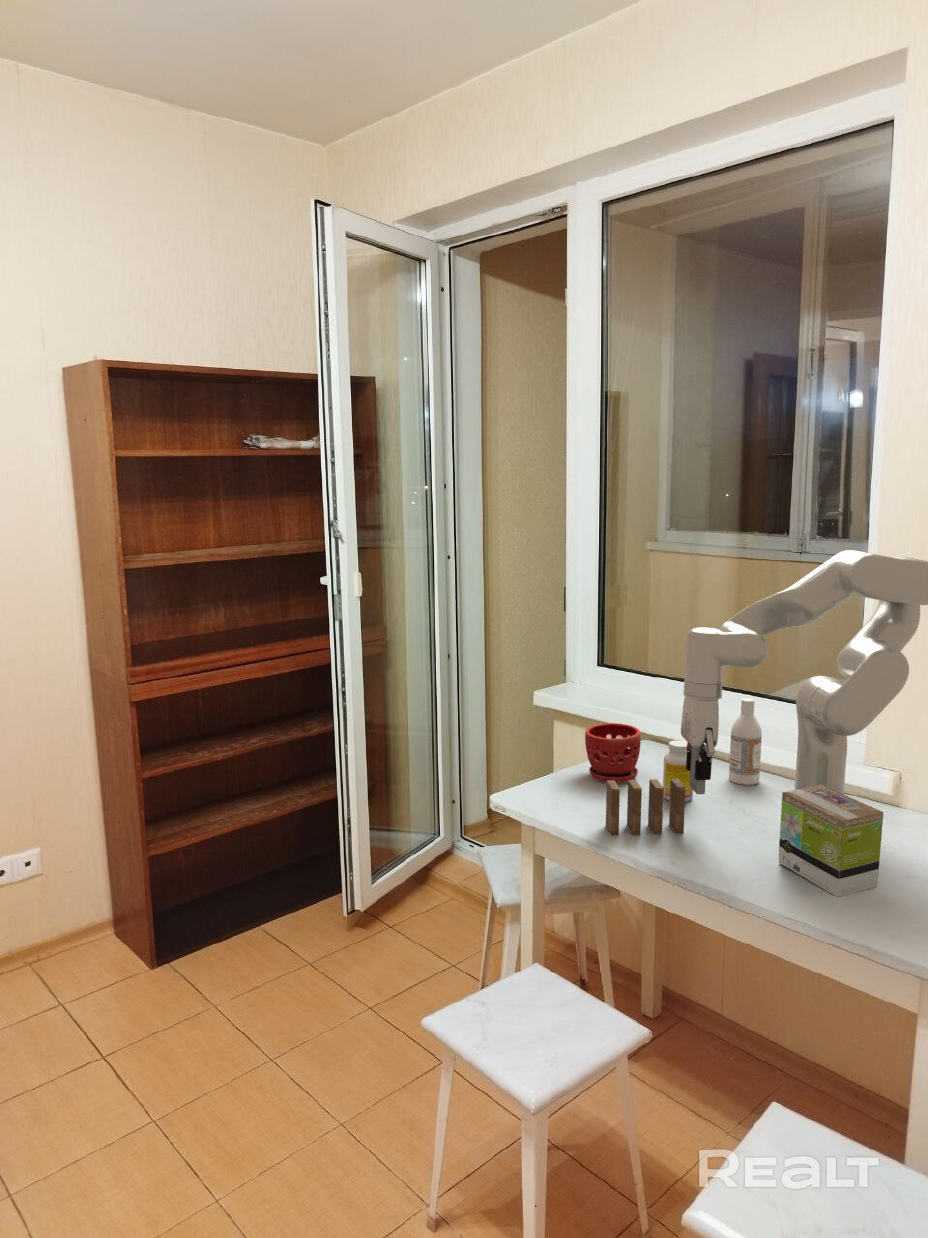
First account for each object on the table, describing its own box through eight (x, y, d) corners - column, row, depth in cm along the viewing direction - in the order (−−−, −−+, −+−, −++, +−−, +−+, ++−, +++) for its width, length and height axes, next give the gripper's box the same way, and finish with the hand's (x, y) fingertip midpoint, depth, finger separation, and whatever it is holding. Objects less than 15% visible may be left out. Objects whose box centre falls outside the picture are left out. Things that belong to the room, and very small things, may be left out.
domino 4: (676, 824, 189) (678, 778, 187) (683, 833, 184) (685, 787, 182) (669, 824, 189) (670, 778, 187) (676, 833, 184) (677, 787, 182)
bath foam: (750, 788, 209) (754, 705, 206) (723, 780, 214) (727, 699, 211) (764, 780, 214) (768, 699, 211) (738, 773, 219) (741, 694, 216)
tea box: (775, 864, 170) (780, 790, 167) (816, 855, 174) (821, 782, 171) (837, 899, 156) (842, 818, 153) (879, 888, 160) (886, 809, 157)
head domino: (696, 785, 188) (699, 739, 186) (704, 794, 183) (707, 747, 181) (689, 785, 187) (691, 739, 186) (697, 794, 183) (699, 747, 181)
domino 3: (655, 824, 188) (657, 779, 187) (662, 834, 184) (663, 787, 182) (648, 824, 188) (649, 779, 187) (654, 834, 183) (655, 788, 182)
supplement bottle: (695, 803, 200) (697, 748, 198) (665, 803, 200) (667, 748, 198) (688, 792, 207) (690, 739, 205) (660, 792, 207) (661, 739, 205)
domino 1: (613, 825, 188) (614, 780, 186) (618, 835, 183) (619, 788, 181) (605, 826, 188) (606, 780, 186) (611, 835, 183) (612, 789, 181)
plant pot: (606, 764, 226) (607, 719, 224) (650, 777, 217) (651, 729, 215) (573, 777, 217) (574, 729, 215) (617, 791, 208) (619, 741, 206)
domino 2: (634, 825, 188) (635, 779, 187) (640, 835, 183) (641, 788, 182) (626, 825, 188) (628, 780, 186) (632, 835, 183) (634, 788, 182)
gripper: (672, 679, 190) (668, 761, 193) (698, 699, 173) (693, 789, 176) (707, 679, 190) (702, 761, 193) (736, 699, 173) (730, 789, 176)
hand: (698, 774), depth 184 cm, fingers closed on head domino, 4 cm apart
